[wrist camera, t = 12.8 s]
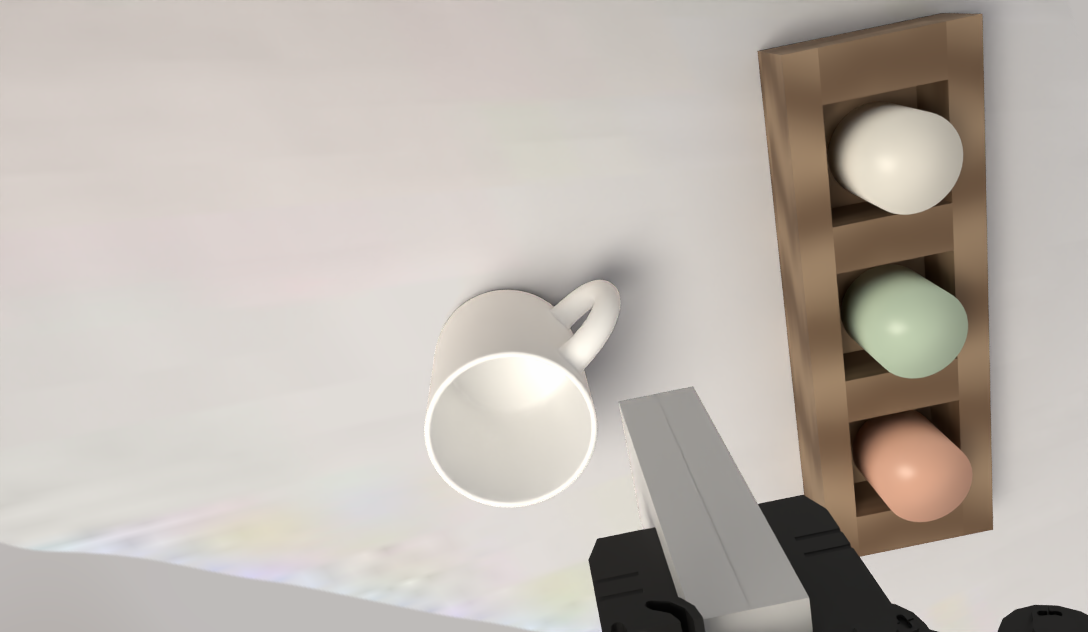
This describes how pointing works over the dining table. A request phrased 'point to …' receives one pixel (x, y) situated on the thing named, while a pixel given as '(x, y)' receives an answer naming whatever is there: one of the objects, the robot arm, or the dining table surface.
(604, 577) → the robot arm
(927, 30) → the wooden compartment tray
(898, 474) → the peach rounded piece
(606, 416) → the dining table surface
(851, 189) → the white short cylinder
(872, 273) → the pale green rounded piece
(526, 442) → the mug
